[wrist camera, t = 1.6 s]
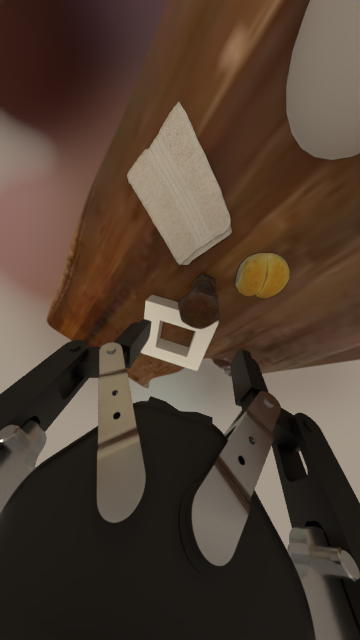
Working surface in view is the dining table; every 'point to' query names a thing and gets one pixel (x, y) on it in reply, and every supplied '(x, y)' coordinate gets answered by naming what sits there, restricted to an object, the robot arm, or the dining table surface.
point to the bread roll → (262, 275)
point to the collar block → (169, 351)
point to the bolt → (200, 304)
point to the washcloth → (181, 190)
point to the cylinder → (326, 80)
